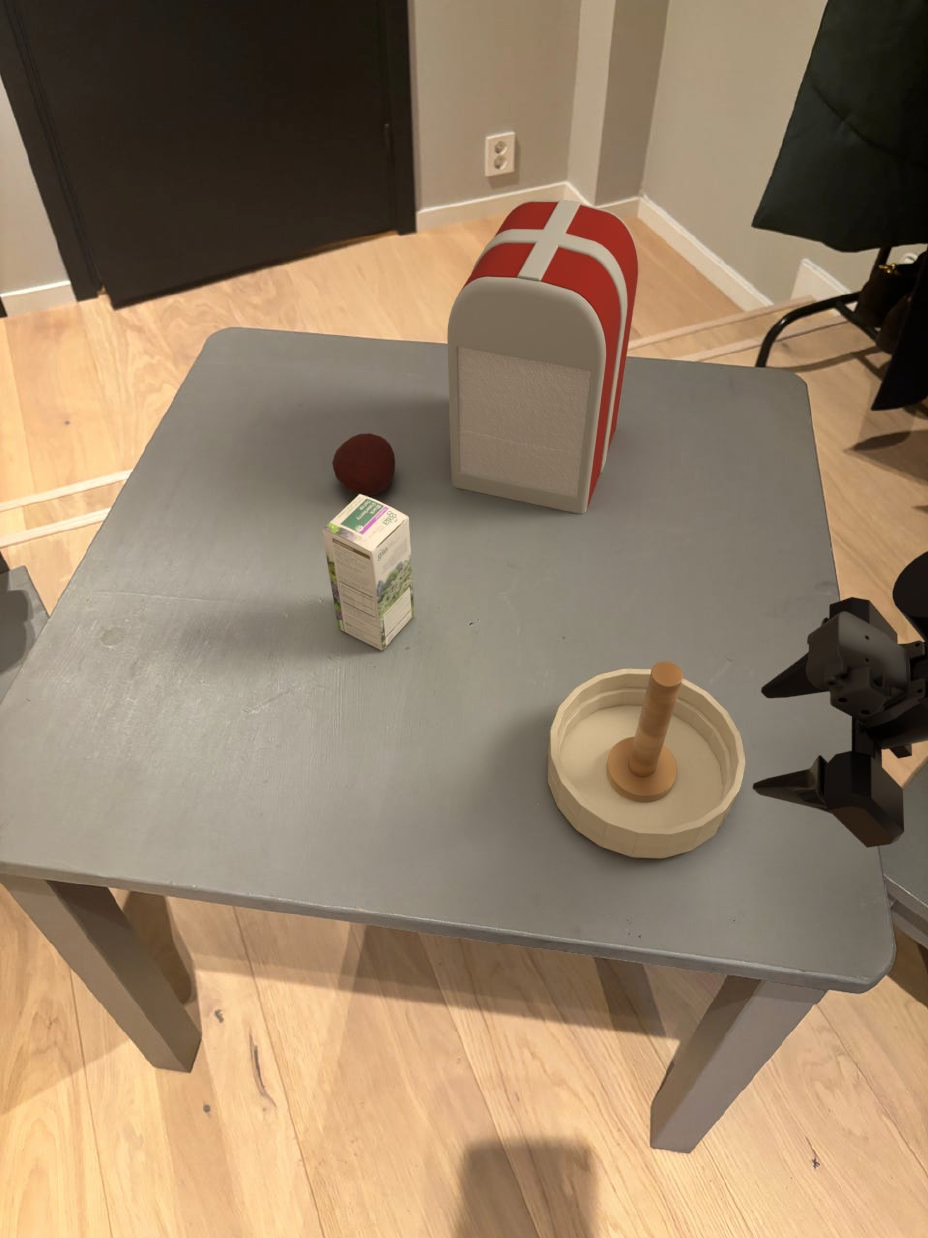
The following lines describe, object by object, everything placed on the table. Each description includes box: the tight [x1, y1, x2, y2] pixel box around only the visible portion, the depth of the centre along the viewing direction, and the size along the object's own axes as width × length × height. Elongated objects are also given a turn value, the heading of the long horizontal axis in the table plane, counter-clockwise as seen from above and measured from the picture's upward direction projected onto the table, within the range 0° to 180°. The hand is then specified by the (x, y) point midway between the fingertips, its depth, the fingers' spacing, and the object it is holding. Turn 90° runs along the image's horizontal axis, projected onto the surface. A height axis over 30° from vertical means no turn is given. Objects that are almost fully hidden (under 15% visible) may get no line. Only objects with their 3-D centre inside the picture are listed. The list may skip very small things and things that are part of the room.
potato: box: [331, 432, 396, 497], centre depth 103 cm, size 7×8×6 cm
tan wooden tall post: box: [606, 660, 684, 802], centre depth 74 cm, size 6×6×15 cm
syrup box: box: [321, 494, 415, 652], centre depth 86 cm, size 6×6×14 cm
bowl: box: [546, 668, 747, 859], centre depth 78 cm, size 16×16×5 cm
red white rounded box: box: [446, 198, 640, 515], centre depth 98 cm, size 17×18×27 cm
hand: (759, 739), depth 71 cm, fingers open, 9 cm apart
